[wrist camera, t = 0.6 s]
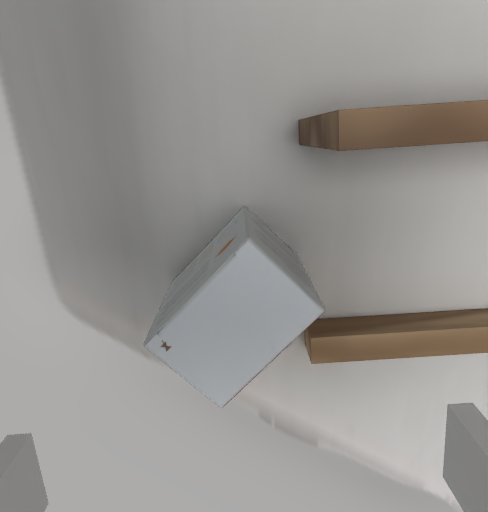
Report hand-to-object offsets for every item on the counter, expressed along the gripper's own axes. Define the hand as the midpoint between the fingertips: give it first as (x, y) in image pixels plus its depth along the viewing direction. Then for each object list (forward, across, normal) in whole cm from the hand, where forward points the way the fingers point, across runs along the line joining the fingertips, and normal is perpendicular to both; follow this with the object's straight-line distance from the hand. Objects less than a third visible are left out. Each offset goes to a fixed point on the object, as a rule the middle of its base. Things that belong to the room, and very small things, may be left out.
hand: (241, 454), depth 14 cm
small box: (+19, 0, 0) cm, 19 cm away
